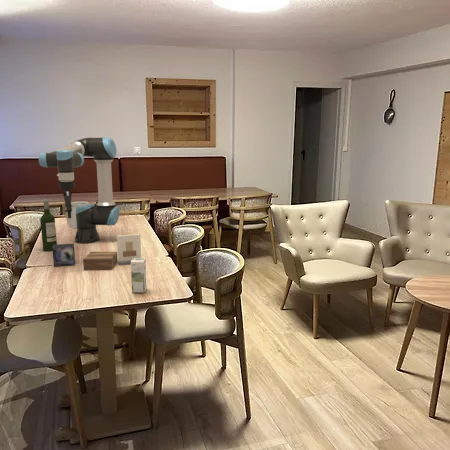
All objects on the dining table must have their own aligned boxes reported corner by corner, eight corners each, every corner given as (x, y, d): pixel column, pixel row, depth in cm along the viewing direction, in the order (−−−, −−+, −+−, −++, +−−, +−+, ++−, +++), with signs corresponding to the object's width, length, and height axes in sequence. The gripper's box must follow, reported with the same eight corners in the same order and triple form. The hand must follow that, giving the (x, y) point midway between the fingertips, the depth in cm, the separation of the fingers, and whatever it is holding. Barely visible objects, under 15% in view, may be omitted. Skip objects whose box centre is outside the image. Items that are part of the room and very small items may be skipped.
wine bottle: (52, 251, 256) (48, 200, 249) (40, 251, 257) (35, 200, 251) (60, 248, 263) (55, 198, 257) (48, 247, 265) (43, 198, 258)
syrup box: (146, 288, 197) (145, 257, 194) (144, 293, 192) (143, 261, 189) (134, 288, 197) (132, 257, 194) (131, 293, 191) (130, 261, 188)
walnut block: (91, 262, 237) (90, 251, 235) (117, 262, 237) (117, 251, 236) (83, 270, 223) (83, 259, 222) (111, 270, 223) (110, 259, 222)
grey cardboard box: (118, 262, 236) (116, 234, 233) (140, 260, 240) (139, 233, 236) (118, 265, 231) (117, 237, 227) (141, 263, 234) (140, 235, 231)
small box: (53, 267, 228) (51, 247, 226) (54, 263, 234) (53, 244, 232) (74, 265, 231) (73, 246, 228) (75, 261, 237) (74, 243, 235)
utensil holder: (68, 225, 325) (66, 202, 321) (89, 223, 331) (87, 200, 328) (70, 229, 312) (68, 205, 308) (92, 227, 318) (90, 203, 314)
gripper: (58, 178, 233) (61, 217, 238) (59, 183, 210) (62, 227, 215) (73, 178, 236) (75, 216, 240) (75, 183, 213) (78, 225, 218)
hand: (69, 221), depth 228 cm, fingers open, 13 cm apart
